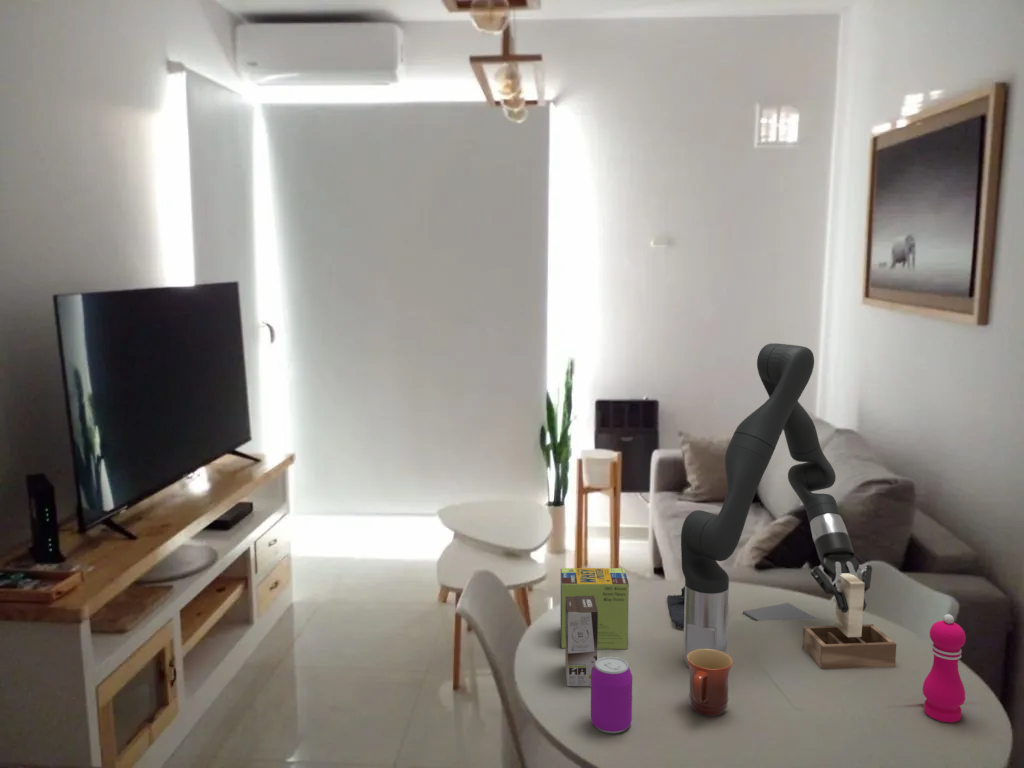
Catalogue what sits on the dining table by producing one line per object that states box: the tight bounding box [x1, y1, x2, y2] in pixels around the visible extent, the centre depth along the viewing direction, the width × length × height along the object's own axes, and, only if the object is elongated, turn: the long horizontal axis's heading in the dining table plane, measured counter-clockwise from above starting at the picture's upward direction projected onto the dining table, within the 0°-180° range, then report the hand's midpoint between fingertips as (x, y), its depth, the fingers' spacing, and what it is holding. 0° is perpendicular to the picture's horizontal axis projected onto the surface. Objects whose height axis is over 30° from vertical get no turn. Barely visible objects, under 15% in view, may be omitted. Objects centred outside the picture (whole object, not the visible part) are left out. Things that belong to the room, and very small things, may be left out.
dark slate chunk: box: [666, 585, 685, 628], centre depth 202 cm, size 15×22×5 cm
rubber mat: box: [742, 602, 819, 622], centre depth 197 cm, size 18×14×1 cm
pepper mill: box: [922, 613, 967, 724], centre depth 154 cm, size 7×7×20 cm
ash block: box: [834, 573, 865, 637], centre depth 176 cm, size 6×3×12 cm, turn 4°
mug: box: [686, 649, 734, 717], centre depth 156 cm, size 12×9×10 cm
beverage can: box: [590, 656, 633, 734], centre depth 152 cm, size 8×8×12 cm
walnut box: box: [801, 623, 897, 670], centre depth 177 cm, size 10×16×6 cm, turn 94°
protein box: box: [559, 567, 630, 650], centre depth 188 cm, size 10×15×16 cm
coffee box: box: [564, 596, 598, 687], centre depth 170 cm, size 9×6×16 cm
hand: (853, 610), depth 174 cm, fingers closed on ash block, 3 cm apart
